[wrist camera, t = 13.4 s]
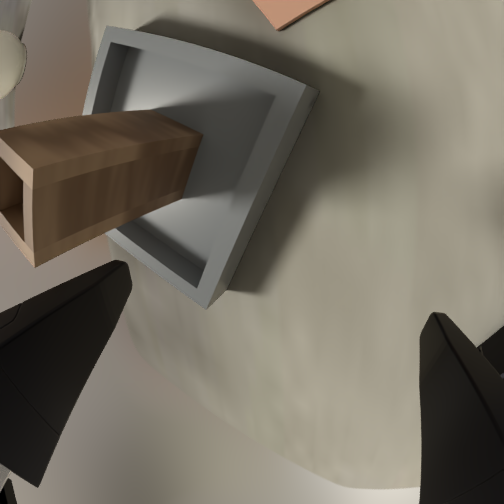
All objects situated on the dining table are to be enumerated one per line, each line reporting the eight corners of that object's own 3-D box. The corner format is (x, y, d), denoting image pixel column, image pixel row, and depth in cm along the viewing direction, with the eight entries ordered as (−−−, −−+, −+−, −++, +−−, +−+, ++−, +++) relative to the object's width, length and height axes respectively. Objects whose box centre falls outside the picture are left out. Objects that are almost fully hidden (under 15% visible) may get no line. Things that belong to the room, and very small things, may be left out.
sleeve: (203, 134, 19) (33, 169, 9) (181, 199, 22) (34, 267, 12) (134, 102, 20) (-15, 122, 11) (119, 160, 23) (-15, 203, 13)
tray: (319, 90, 16) (306, 85, 14) (226, 290, 25) (206, 309, 22) (134, 30, 19) (106, 25, 17) (93, 195, 28) (69, 204, 25)
